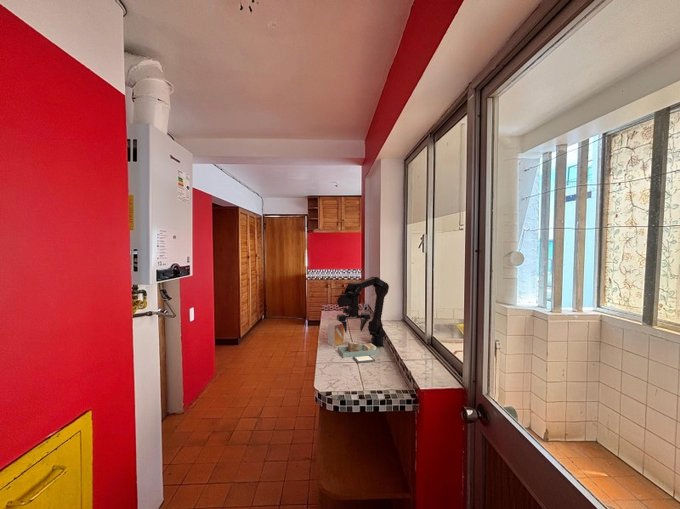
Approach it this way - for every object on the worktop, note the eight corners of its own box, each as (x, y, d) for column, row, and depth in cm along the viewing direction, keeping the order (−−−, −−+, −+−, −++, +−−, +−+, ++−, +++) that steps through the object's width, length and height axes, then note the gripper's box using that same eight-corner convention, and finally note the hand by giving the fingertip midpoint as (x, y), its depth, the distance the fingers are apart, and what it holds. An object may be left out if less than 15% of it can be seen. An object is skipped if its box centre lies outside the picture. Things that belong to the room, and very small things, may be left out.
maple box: (371, 349, 183) (371, 343, 183) (376, 353, 176) (376, 346, 176) (363, 350, 181) (363, 344, 181) (368, 354, 174) (368, 347, 174)
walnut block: (356, 351, 179) (356, 341, 179) (358, 354, 174) (359, 343, 174) (347, 352, 177) (347, 342, 177) (350, 355, 173) (350, 344, 173)
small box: (334, 346, 188) (334, 325, 188) (327, 344, 193) (327, 323, 192) (343, 343, 194) (344, 323, 193) (337, 341, 198) (337, 321, 198)
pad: (369, 356, 171) (369, 355, 171) (375, 361, 163) (375, 359, 163) (352, 358, 168) (352, 356, 168) (357, 363, 160) (357, 361, 160)
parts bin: (372, 348, 185) (372, 344, 185) (379, 354, 175) (379, 349, 175) (337, 351, 179) (337, 347, 179) (343, 357, 168) (343, 353, 168)
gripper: (363, 301, 186) (363, 327, 186) (334, 303, 181) (334, 329, 181) (370, 305, 175) (370, 332, 175) (339, 306, 170) (339, 334, 170)
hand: (353, 332), depth 176 cm, fingers open, 9 cm apart
